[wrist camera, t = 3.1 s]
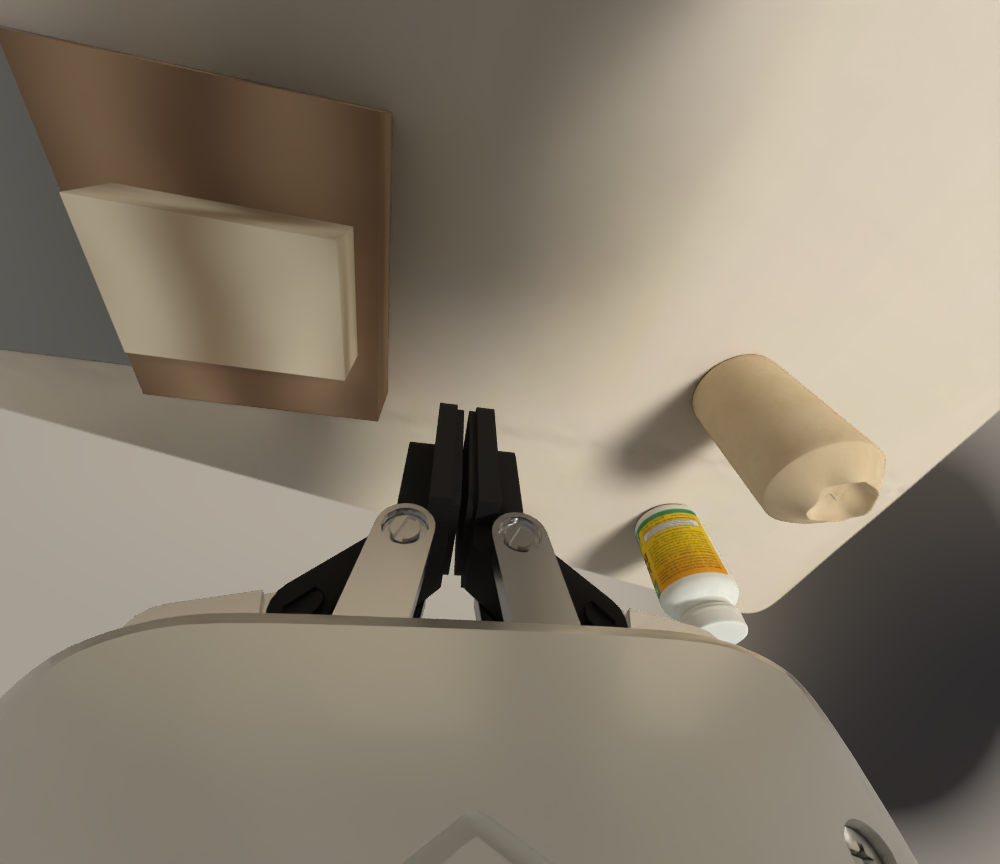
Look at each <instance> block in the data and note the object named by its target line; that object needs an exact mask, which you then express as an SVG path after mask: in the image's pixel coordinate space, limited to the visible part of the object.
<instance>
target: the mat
mask: <svg viewBox="0 0 1000 864" xmlns="http://www.w3.org/2000/svg"><path fill="white" fill-rule="evenodd" d="M0 28H3V29H8V30H13V31H19V32H24V33H29V34H35V33H31V32H26V31H21V30H17V29H12V28H8V27H3V26H0ZM35 35H40V34H35ZM40 36H44V35H40ZM45 37H49V36H45ZM50 38H53V37H50ZM56 39H58V38H56ZM61 40H62V39H61ZM66 41H67V40H66ZM59 192H61V191H60V188H59V186H58V183H57V181H56V178H55V176H54V173H53V171H52V169H51V166H50V164H49V161H48V159H47V156H46V154H45V151H44V149H43V147H42V144H41V142H40V139H39V137H38V134H37V132H36V129H35V127H34V124H33V122H32V120H31V117H30V115H29V112H28V110H27V107H26V105H25V102H24V100H23V98H22V95H21V93H20V90H19V88H18V85H17V83H16V80H15V78H14V76H13V73H12V71H11V68H10V66H9V63H8V61H7V58H6V56H5V53H4V51H3V49H2V46H1V44H0V349H4V350H12V351H20V352H28V353H36V354H44V355H52V356H60V357H68V358H76V359H84V360H92V361H100V362H108V363H116V364H124V365H132V364H131V362H130V360H129V357H128V355H127V353H126V352H125V351H124V349H123V347H122V344H121V342H120V339H119V337H118V334H117V332H116V329H115V327H114V325H113V322H112V320H111V317H110V315H109V312H108V310H107V308H106V305H105V303H104V300H103V298H102V295H101V293H100V291H99V288H98V286H97V283H96V281H95V278H94V276H93V274H92V271H91V269H90V266H89V264H88V261H87V259H86V257H85V254H84V252H83V249H82V247H81V244H80V242H79V239H78V237H77V235H76V232H75V230H74V227H73V225H72V222H71V220H70V218H69V215H68V213H67V210H66V208H65V205H64V203H63V201H62V198H61V196H60V193H59Z"/></svg>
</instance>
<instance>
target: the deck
mask: <svg viewBox="0 0 1000 864" xmlns="http://www.w3.org/2000/svg"><path fill="white" fill-rule="evenodd" d="M0 44H1V46H2V49H3V51H4V53H5V56H6V58H7V61H8V63H9V66H10V68H11V71H12V73H13V76H14V78H15V80H16V83H17V85H18V88H19V90H20V93H21V95H22V98H23V100H24V102H25V105H26V107H27V110H28V112H29V115H30V117H31V120H32V122H33V124H34V127H35V129H36V132H37V134H38V137H39V139H40V142H41V144H42V147H43V149H44V151H45V154H46V156H47V159H48V161H49V164H50V166H51V169H52V171H53V173H54V176H55V178H56V181H57V183H58V186H59V188H60V191H61V192H62V191H68V190H74V189H79V188H85V187H91V186H96V185H102V184H108V183H116V184H121V185H127V186H132V187H138V188H144V189H149V190H155V191H160V192H166V193H171V194H177V195H182V196H188V197H193V198H199V199H204V200H210V201H215V202H221V203H226V204H232V205H237V206H243V207H249V208H254V209H260V210H265V211H271V212H276V213H282V214H287V215H293V216H298V217H304V218H309V219H315V220H320V221H326V222H331V223H337V224H342V225H348V226H353V232H354V262H355V292H356V321H357V351H358V356H357V358H356V360H355V362H354V364H353V366H352V368H351V370H350V371H349V373H348V375H347V377H346V379H345V381H342V380H335V379H327V378H319V377H311V376H304V375H296V374H288V373H280V372H273V371H265V370H257V369H250V368H242V367H234V366H226V365H219V364H211V363H203V362H195V361H188V360H180V359H172V358H164V357H157V356H149V355H141V354H133V353H127V355H128V357H129V360H130V362H131V364H132V367H133V369H134V372H135V374H136V377H137V379H138V382H139V384H140V386H141V389H142V391H143V394H148V395H157V396H166V397H174V398H183V399H191V400H200V401H208V402H217V403H225V404H234V405H243V406H251V407H260V408H268V409H277V410H285V411H294V412H302V413H311V414H320V415H328V416H337V417H345V418H354V419H362V420H371V421H378V420H379V417H380V414H381V411H382V408H383V405H384V402H385V399H386V396H387V391H388V328H389V264H390V200H391V137H392V113H391V112H387V111H382V110H378V109H373V108H369V107H364V106H360V105H355V104H351V103H346V102H342V101H337V100H333V99H328V98H324V97H319V96H315V95H310V94H306V93H301V92H297V91H292V90H288V89H283V88H279V87H274V86H269V85H265V84H260V83H256V82H251V81H247V80H242V79H238V78H233V77H229V76H224V75H220V74H215V73H211V72H206V71H202V70H197V69H193V68H188V67H184V66H179V65H175V64H170V63H166V62H161V61H157V60H152V59H148V58H143V57H139V56H134V55H130V54H125V53H121V52H116V51H112V50H107V49H103V48H98V47H94V46H89V45H85V44H80V43H76V42H71V41H66V40H61V39H56V38H50V37H45V36H40V35H35V34H29V33H24V32H19V31H13V30H8V29H3V28H0Z"/></svg>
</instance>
